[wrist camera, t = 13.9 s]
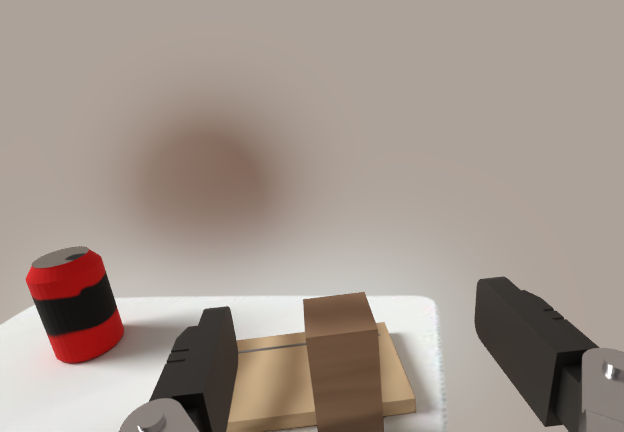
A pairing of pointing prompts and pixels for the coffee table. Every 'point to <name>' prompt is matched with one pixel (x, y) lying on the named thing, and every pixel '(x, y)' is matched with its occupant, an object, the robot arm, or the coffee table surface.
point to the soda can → (75, 303)
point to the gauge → (344, 363)
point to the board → (299, 383)
